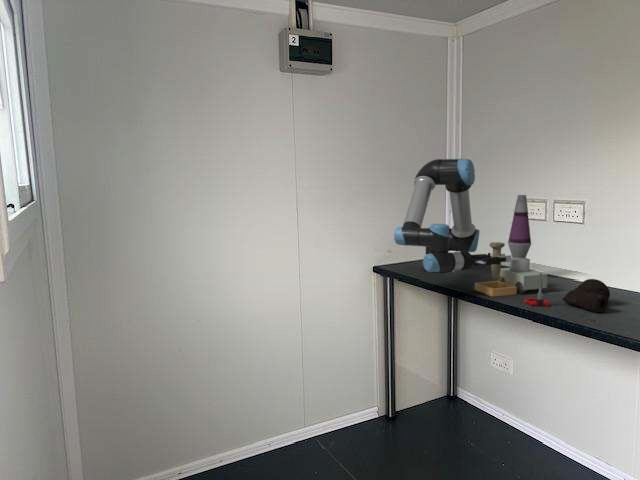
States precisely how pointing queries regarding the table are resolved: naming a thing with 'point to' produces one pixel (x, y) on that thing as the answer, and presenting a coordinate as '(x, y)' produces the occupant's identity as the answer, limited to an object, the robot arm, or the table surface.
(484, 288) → the grey and tan pieces
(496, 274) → the handle
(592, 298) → the dark brown irregular lump
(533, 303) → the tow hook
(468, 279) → the table surface
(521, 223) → the lamp
